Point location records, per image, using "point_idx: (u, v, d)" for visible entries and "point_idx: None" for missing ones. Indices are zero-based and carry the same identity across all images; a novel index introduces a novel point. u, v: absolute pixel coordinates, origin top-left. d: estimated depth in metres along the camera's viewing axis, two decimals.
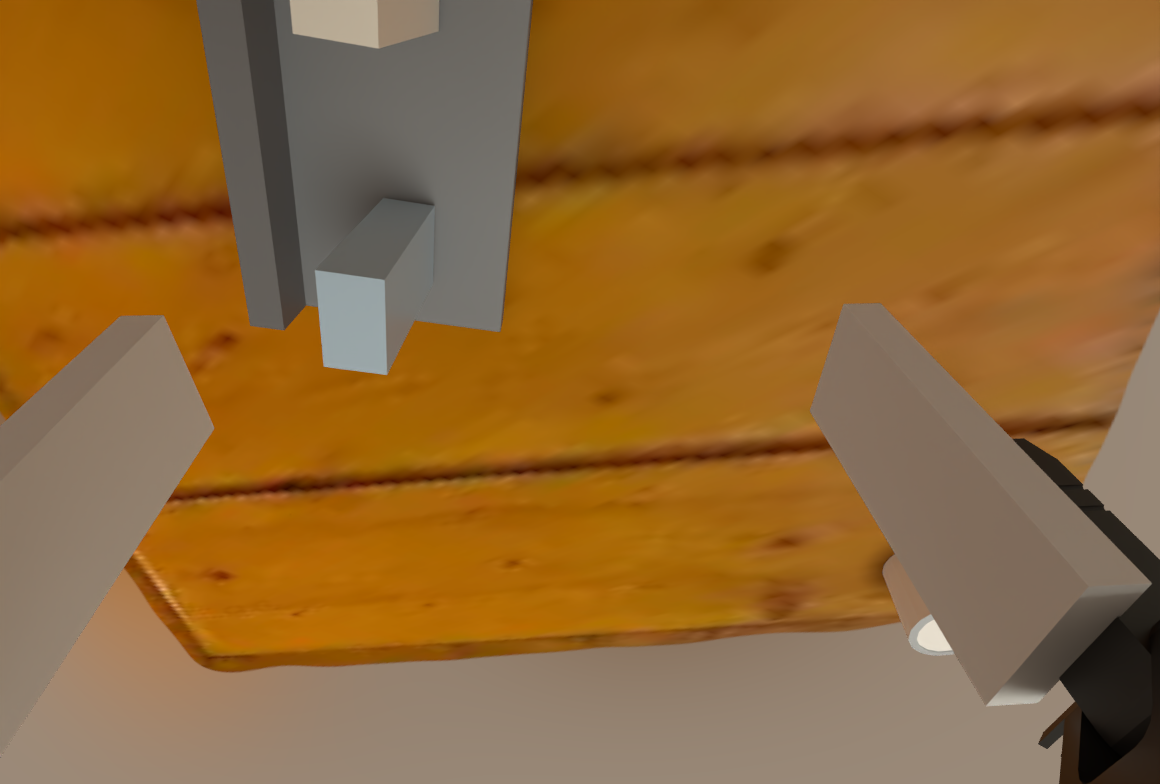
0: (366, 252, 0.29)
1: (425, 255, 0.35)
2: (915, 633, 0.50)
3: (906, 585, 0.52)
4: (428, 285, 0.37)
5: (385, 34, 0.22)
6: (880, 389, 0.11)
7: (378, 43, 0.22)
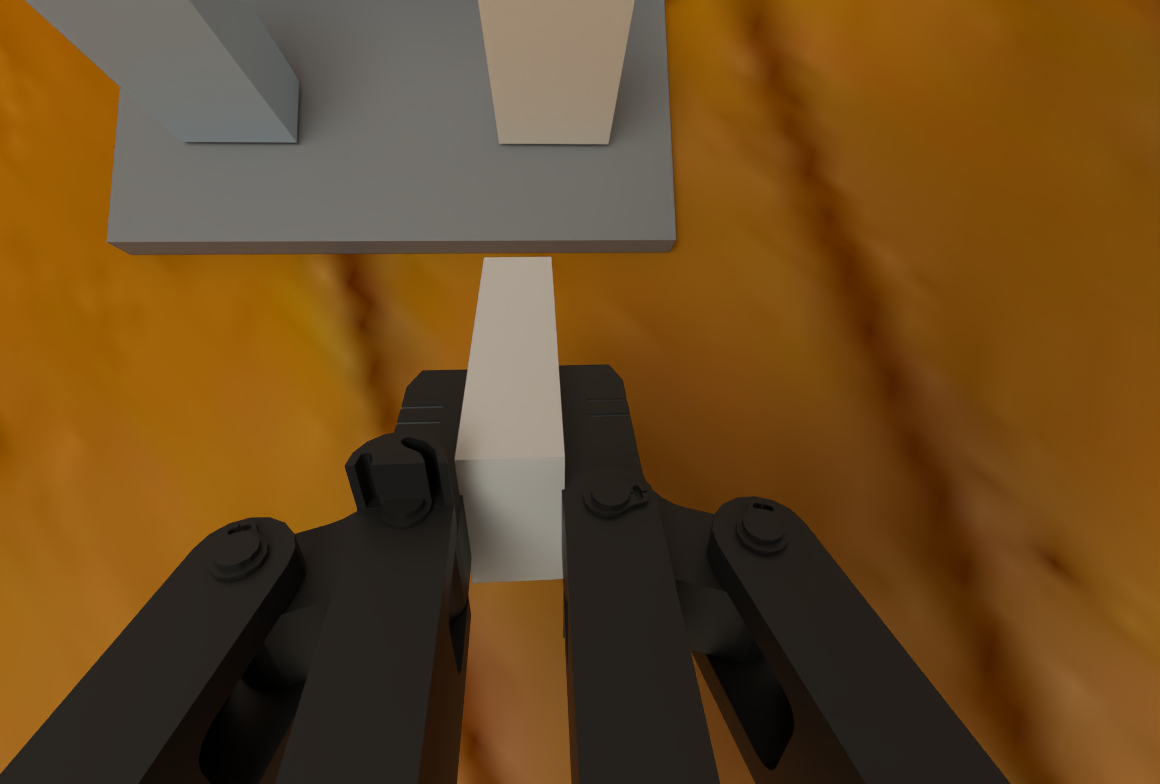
0: None
1: (216, 109, 0.24)
2: None
3: None
4: (172, 123, 0.25)
5: None
6: None
7: None
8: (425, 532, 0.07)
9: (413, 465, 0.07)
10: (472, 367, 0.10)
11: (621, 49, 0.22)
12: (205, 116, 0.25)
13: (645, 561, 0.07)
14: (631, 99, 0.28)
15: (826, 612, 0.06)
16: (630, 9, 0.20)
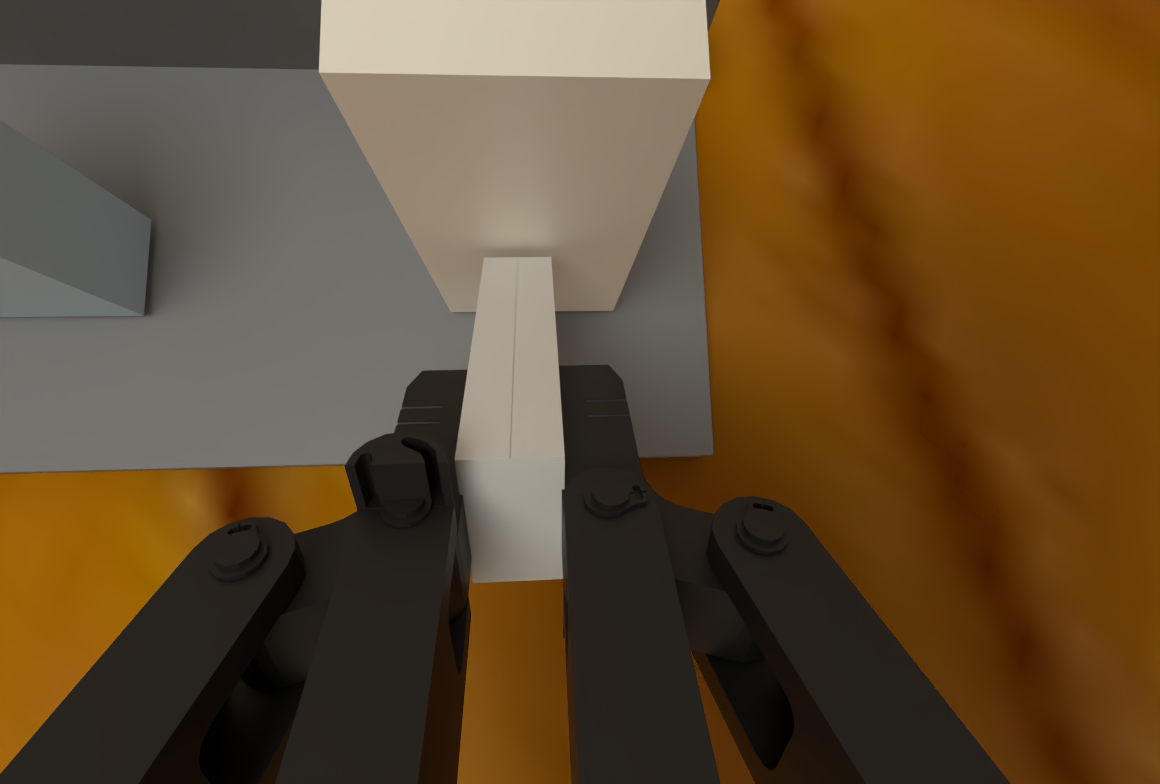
0: None
1: None
2: None
3: None
4: None
5: (373, 121, 0.09)
6: None
7: (332, 74, 0.08)
8: (425, 532, 0.07)
9: (413, 465, 0.07)
10: (472, 367, 0.10)
11: (640, 228, 0.13)
12: None
13: (645, 561, 0.07)
14: (646, 241, 0.19)
15: (826, 612, 0.06)
16: (661, 186, 0.11)
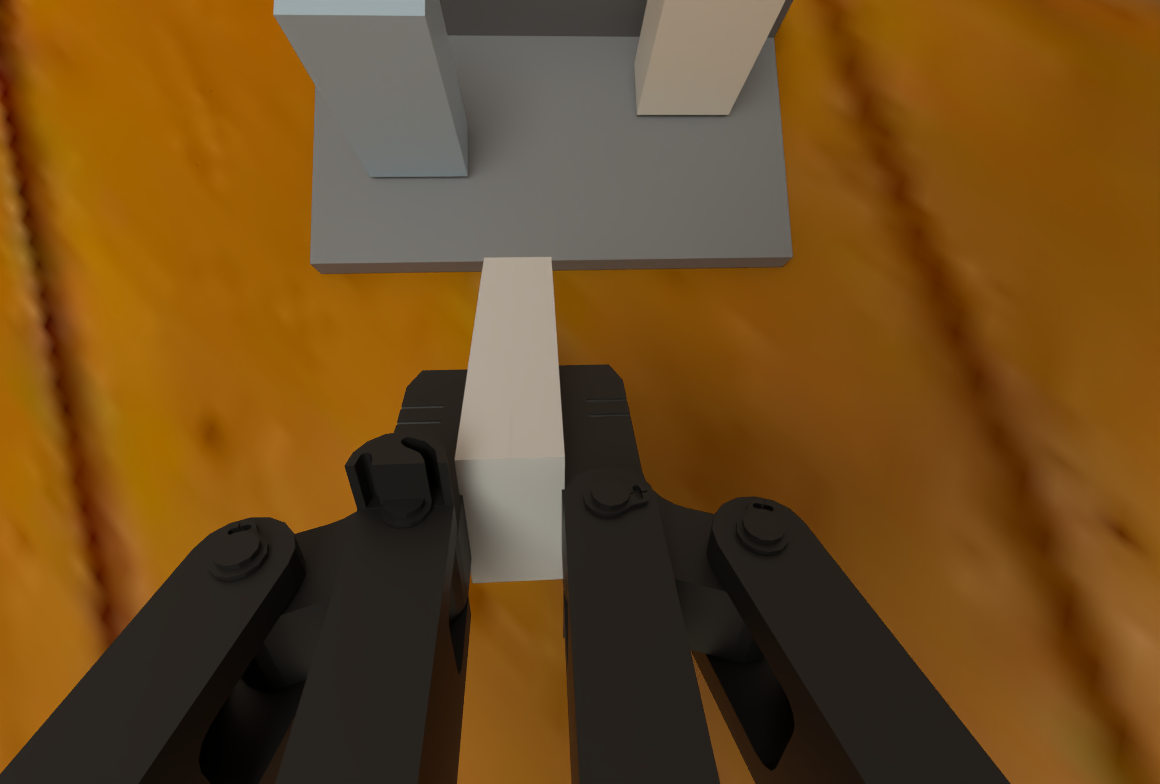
0: (439, 32, 0.23)
1: (415, 151, 0.29)
2: None
3: None
4: (371, 162, 0.30)
5: None
6: None
7: None
8: (425, 532, 0.07)
9: (413, 465, 0.07)
10: (472, 367, 0.10)
11: (767, 30, 0.26)
12: (402, 157, 0.29)
13: (645, 561, 0.07)
14: (749, 135, 0.33)
15: (826, 612, 0.06)
16: None
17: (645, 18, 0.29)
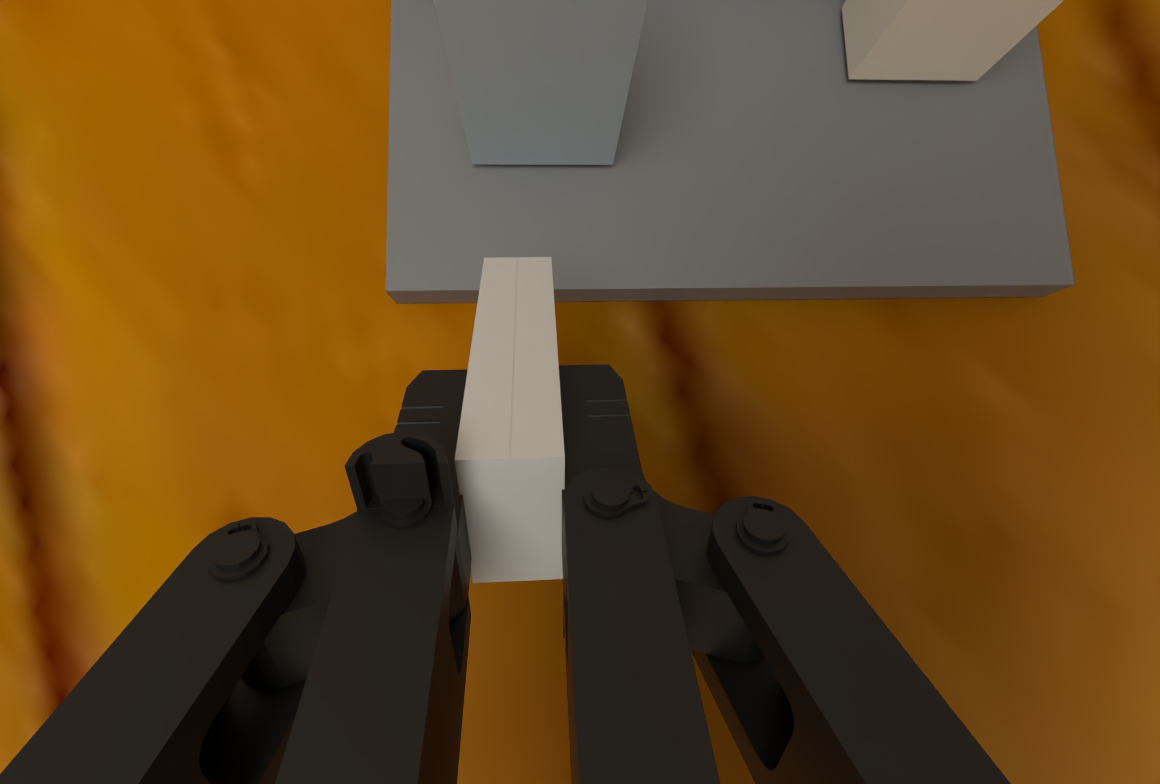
0: None
1: (552, 125, 0.19)
2: None
3: None
4: (481, 142, 0.20)
5: None
6: None
7: None
8: (425, 532, 0.07)
9: (413, 465, 0.07)
10: (472, 367, 0.10)
11: None
12: (530, 133, 0.19)
13: (645, 561, 0.07)
14: (1004, 110, 0.23)
15: (826, 612, 0.06)
16: None
17: None
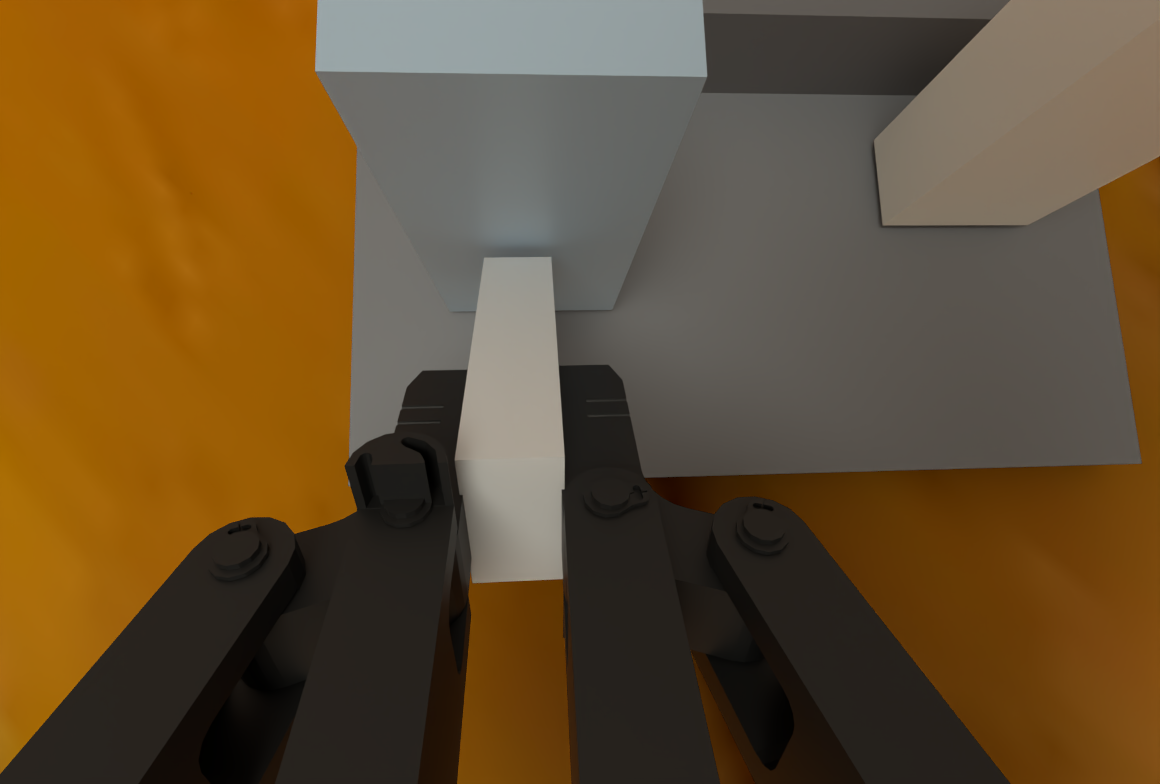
0: None
1: None
2: None
3: None
4: (459, 297, 0.17)
5: None
6: None
7: None
8: (425, 532, 0.07)
9: (413, 465, 0.07)
10: (472, 367, 0.10)
11: None
12: None
13: (645, 561, 0.07)
14: (1058, 257, 0.20)
15: (826, 612, 0.06)
16: None
17: (949, 77, 0.16)
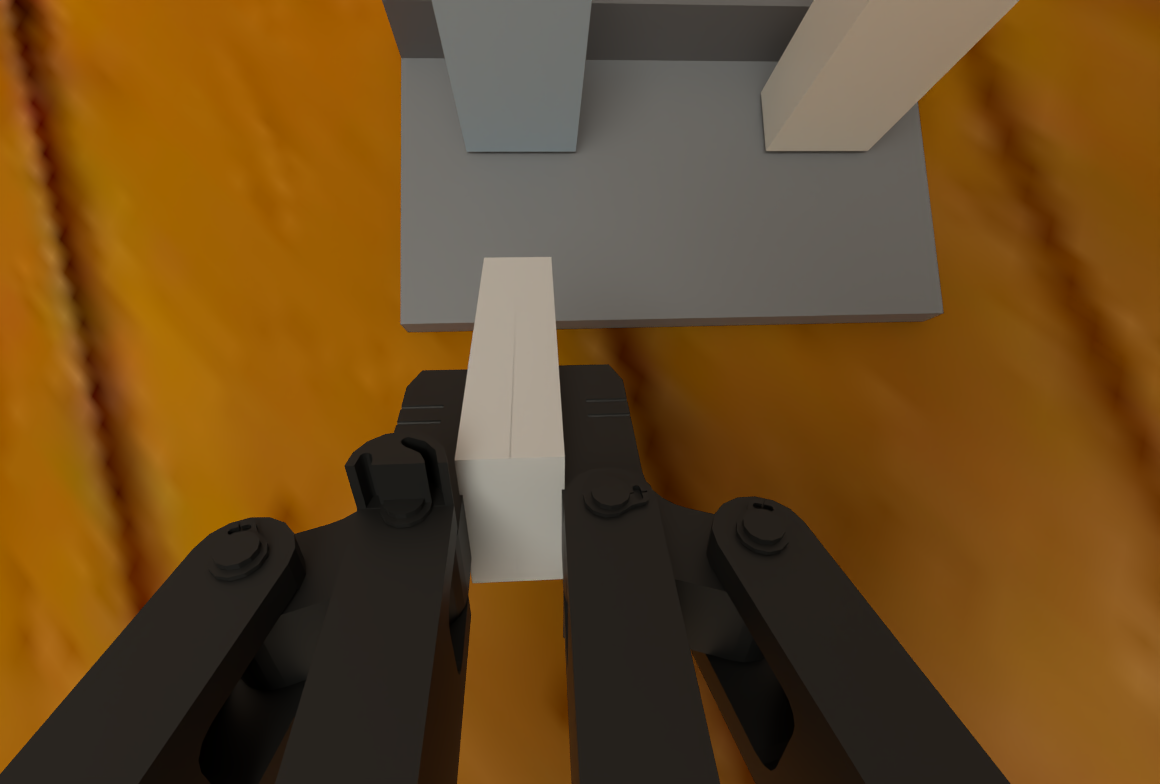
0: None
1: (527, 120, 0.25)
2: None
3: None
4: (473, 134, 0.26)
5: None
6: None
7: None
8: (425, 532, 0.07)
9: (413, 465, 0.07)
10: (472, 367, 0.10)
11: (952, 62, 0.23)
12: (510, 127, 0.26)
13: (645, 561, 0.07)
14: (890, 174, 0.29)
15: (826, 612, 0.06)
16: (991, 25, 0.21)
17: (793, 44, 0.25)
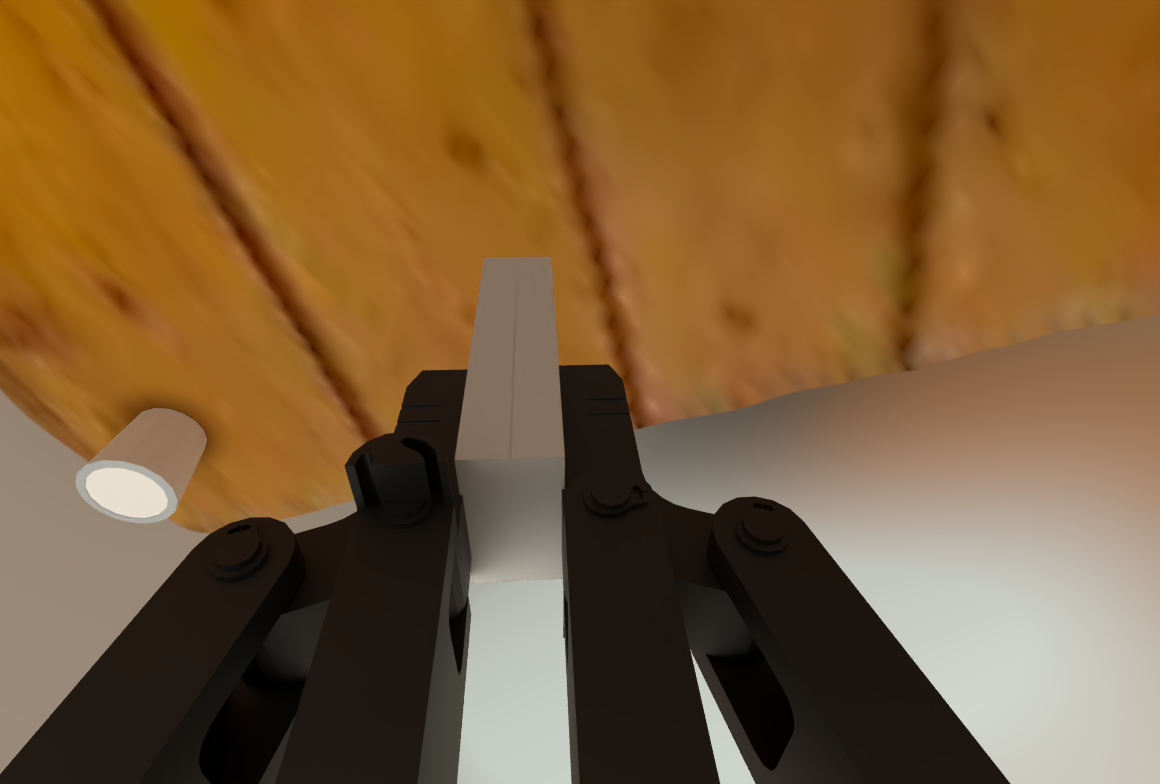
0: None
1: None
2: (100, 466, 0.44)
3: (150, 434, 0.47)
4: None
5: None
6: None
7: None
8: (425, 532, 0.07)
9: (413, 465, 0.07)
10: (472, 367, 0.10)
11: None
12: None
13: (645, 561, 0.07)
14: None
15: (826, 612, 0.06)
16: None
17: None
